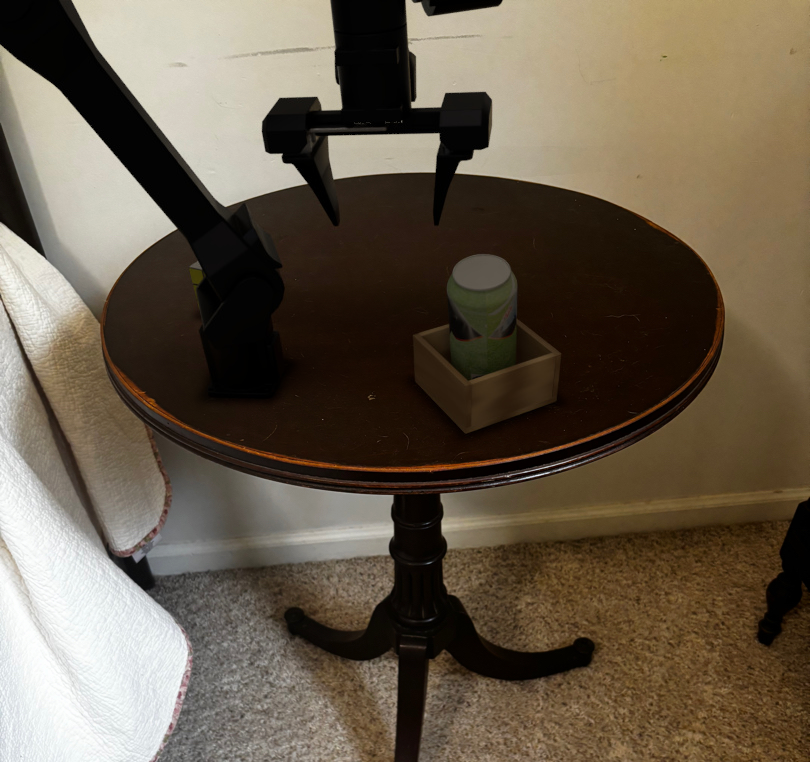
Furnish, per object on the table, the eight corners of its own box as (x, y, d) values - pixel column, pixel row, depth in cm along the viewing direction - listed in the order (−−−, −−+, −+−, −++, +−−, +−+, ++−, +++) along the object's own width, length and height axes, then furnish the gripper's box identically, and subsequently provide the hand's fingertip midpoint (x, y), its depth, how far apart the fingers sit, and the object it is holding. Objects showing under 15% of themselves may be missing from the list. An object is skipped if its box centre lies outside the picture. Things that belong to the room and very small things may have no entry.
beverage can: (515, 361, 78) (522, 243, 70) (513, 405, 73) (520, 283, 65) (451, 360, 79) (450, 242, 70) (445, 403, 74) (443, 282, 65)
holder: (465, 434, 71) (465, 386, 68) (414, 381, 78) (412, 334, 74) (556, 401, 74) (561, 353, 71) (500, 353, 81) (502, 306, 77)
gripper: (497, -6, 66) (494, 187, 77) (278, 5, 68) (306, 189, 79) (489, 30, 58) (487, 239, 69) (242, 40, 61) (279, 239, 72)
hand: (386, 224), depth 73 cm, fingers open, 9 cm apart
